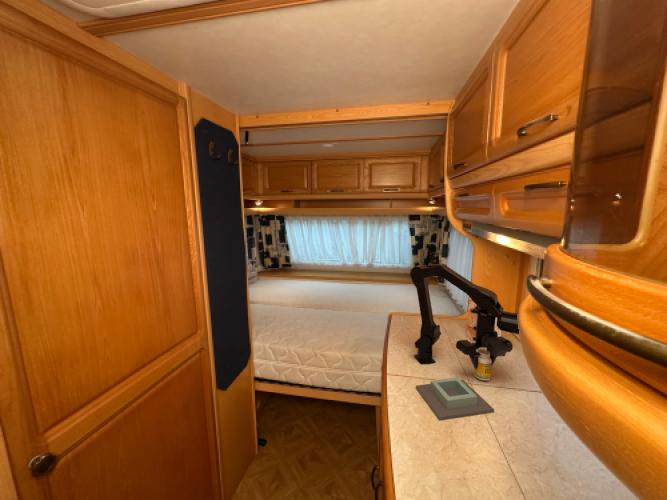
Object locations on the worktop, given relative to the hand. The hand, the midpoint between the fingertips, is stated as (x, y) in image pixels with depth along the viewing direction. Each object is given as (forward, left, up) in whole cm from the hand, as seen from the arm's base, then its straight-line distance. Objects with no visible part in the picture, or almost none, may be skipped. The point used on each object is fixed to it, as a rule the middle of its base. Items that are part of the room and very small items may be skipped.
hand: (482, 367), depth 98 cm
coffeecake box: (-24, +19, -5) cm, 31 cm away
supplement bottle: (0, 0, -4) cm, 4 cm away
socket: (+8, -17, -5) cm, 19 cm away
